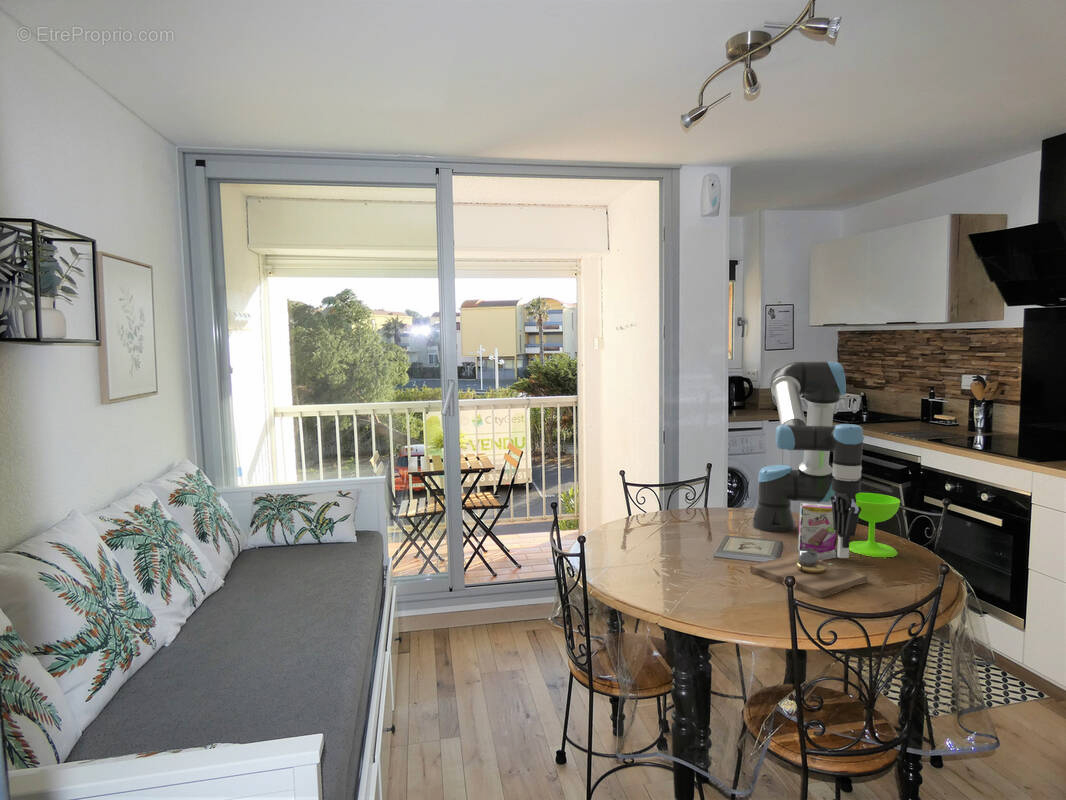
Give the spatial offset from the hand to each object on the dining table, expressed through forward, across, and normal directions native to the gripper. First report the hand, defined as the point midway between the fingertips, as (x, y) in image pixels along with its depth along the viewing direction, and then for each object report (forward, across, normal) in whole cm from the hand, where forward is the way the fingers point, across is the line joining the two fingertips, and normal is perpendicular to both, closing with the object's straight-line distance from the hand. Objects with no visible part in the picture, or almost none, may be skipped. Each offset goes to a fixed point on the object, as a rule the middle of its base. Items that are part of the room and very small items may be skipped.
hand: (842, 557), depth 190 cm
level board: (+8, +5, +8) cm, 12 cm away
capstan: (+5, +7, +3) cm, 9 cm away
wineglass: (+9, +28, -24) cm, 38 cm away
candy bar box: (+9, +26, -5) cm, 28 cm away
